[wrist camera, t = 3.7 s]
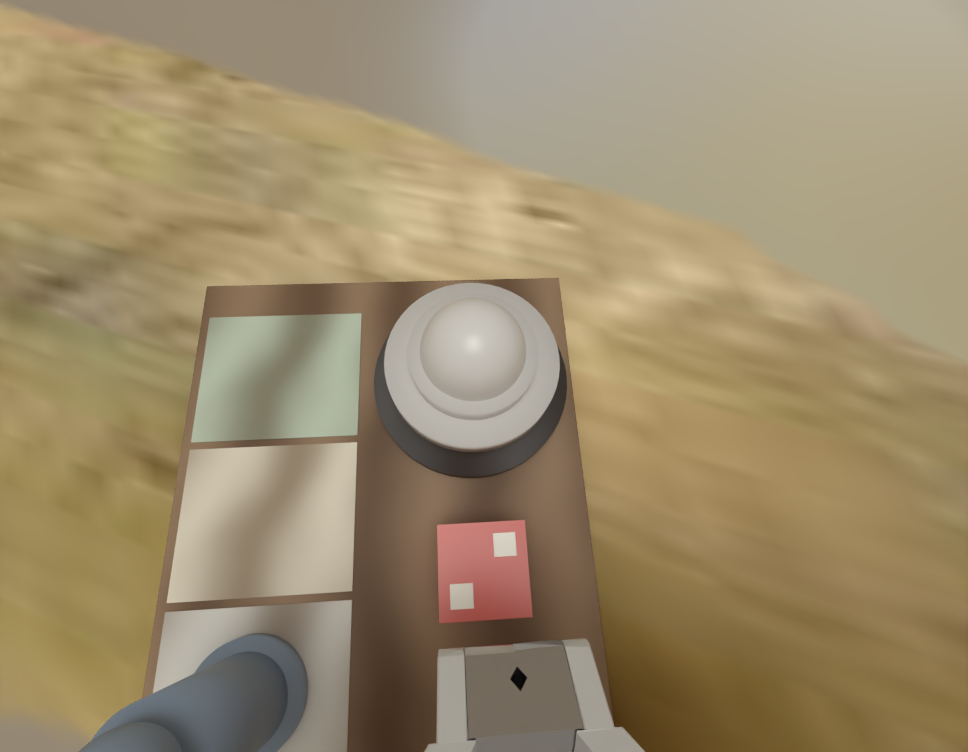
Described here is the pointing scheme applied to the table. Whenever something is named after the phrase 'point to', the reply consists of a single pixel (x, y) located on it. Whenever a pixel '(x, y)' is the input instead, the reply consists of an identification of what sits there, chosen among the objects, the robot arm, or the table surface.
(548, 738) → the robot arm
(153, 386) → the table surface
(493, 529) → the red die
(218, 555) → the game board
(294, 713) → the pawn
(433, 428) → the dome
